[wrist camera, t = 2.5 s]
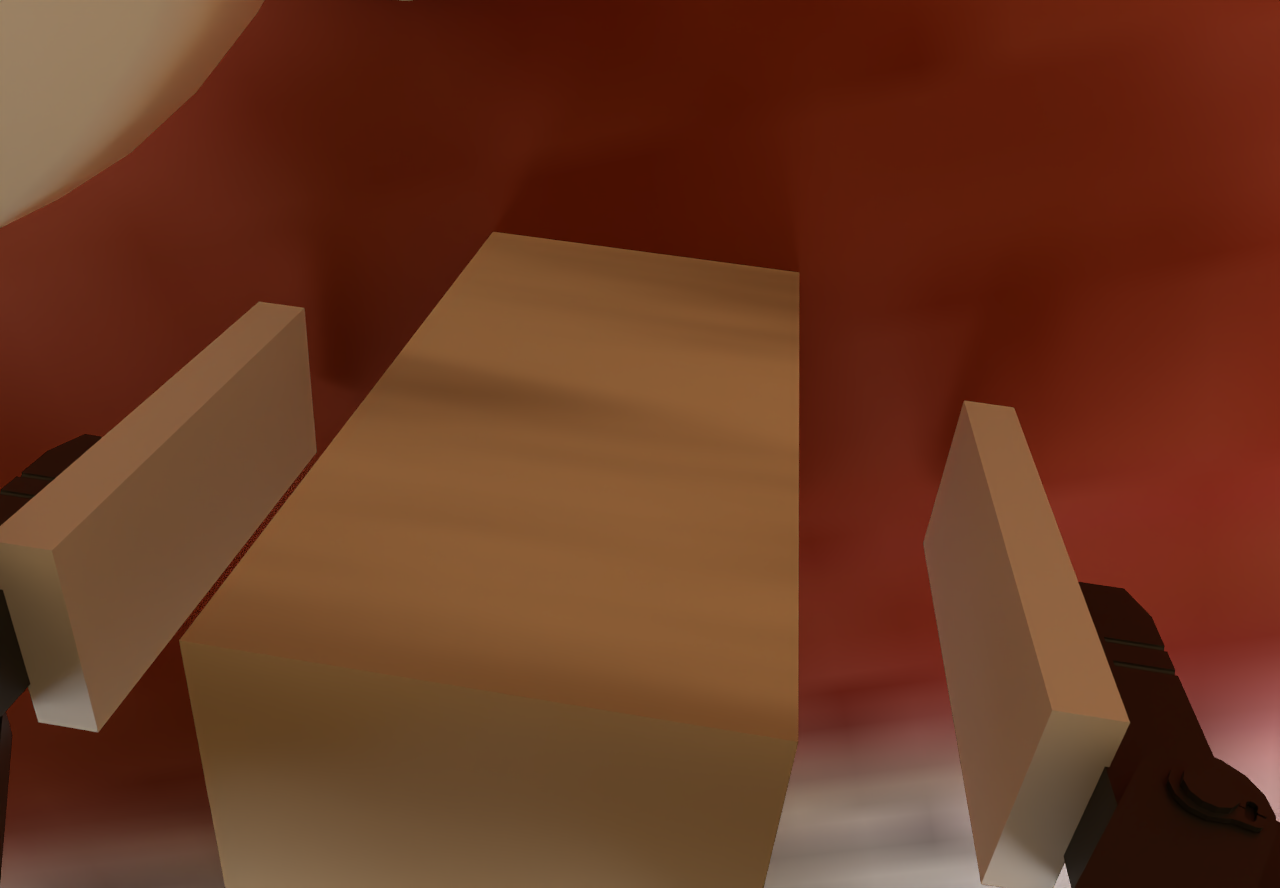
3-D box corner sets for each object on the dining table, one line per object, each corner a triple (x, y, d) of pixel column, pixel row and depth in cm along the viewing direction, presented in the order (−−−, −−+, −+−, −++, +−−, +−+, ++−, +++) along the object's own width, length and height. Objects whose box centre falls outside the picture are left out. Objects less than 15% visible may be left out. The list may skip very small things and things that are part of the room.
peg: (753, 526, 19) (716, 1086, 11) (488, 486, 19) (246, 997, 11) (799, 272, 17) (797, 741, 8) (493, 231, 17) (179, 640, 8)
